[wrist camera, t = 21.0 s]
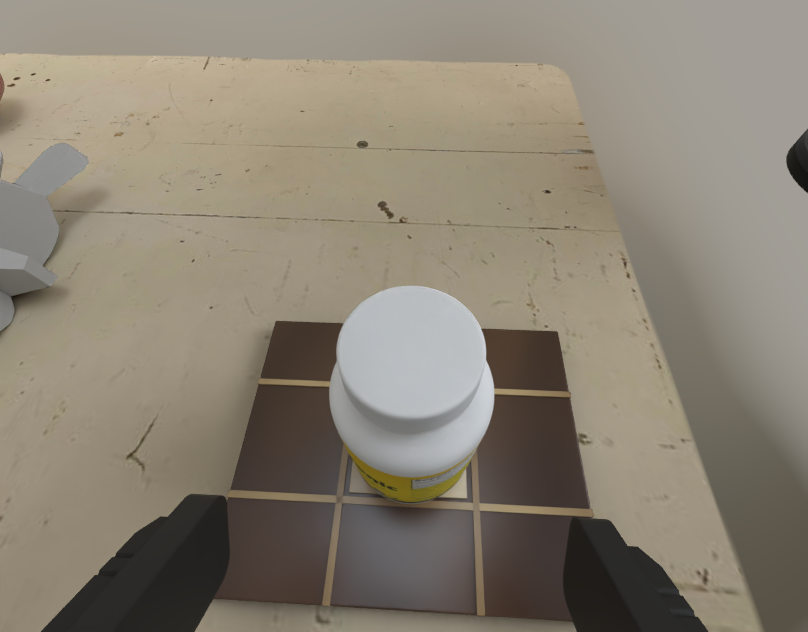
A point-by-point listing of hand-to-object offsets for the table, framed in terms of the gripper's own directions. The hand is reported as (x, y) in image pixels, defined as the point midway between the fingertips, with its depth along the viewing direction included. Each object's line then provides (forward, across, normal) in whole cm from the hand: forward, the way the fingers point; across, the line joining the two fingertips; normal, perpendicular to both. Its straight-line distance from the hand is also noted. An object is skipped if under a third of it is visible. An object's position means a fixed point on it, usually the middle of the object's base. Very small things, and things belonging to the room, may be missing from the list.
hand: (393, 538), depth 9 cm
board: (+10, 0, +4) cm, 11 cm away
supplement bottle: (+9, 0, +3) cm, 10 cm away
